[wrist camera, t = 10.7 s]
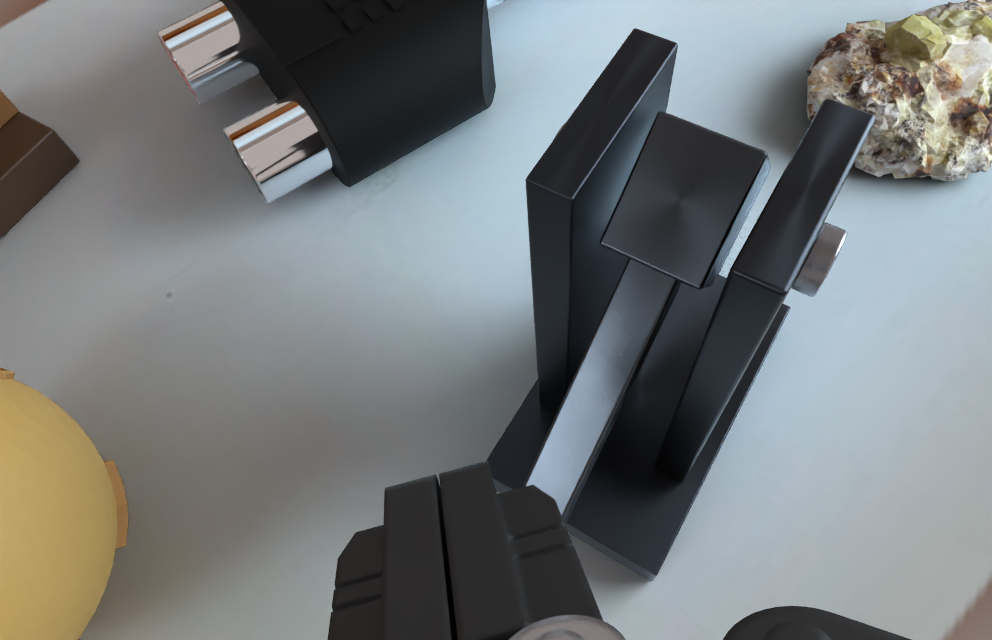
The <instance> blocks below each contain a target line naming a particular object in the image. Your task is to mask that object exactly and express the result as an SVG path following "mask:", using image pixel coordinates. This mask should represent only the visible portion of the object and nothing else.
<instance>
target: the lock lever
mask: <svg viewBox="0 0 992 640" xmlns="http://www.w3.org/2000/svg"><path fill="white" fill-rule="evenodd" d="M769 171H770V163H769V159H768V155H767V153H766V152H765V151H763V150H761V149H758V148H756V147H753V146H750V145H748V144H745V143H743V142H740V141H738V140H735V139H732V138H730V137H727V136H725V135H722V134H719V133H717V132H714V131H712V130H709V129H707V128H704V127H701V126H699V125H696V124H694V123H691V122H689V121H686V120H683V119H681V118H678V117H676V116H673V115H671V114H668V113H665V112H663V111H659V112H658V113H657V115H656V117H655V120H654V122H653V124H652V126H651V128H650V131H649V133H648V135H647V137H646V140H645V142H644V144H643V146H642V148H641V151H640V153H639V155H638V157H637V160H636V162H635V164H634V166H633V168H632V171H631V173H630V175H629V177H628V180H627V182H626V184H625V186H624V188H623V191H622V193H621V195H620V197H619V200H618V202H617V204H616V206H615V208H614V211H613V213H612V215H611V217H610V220H609V222H608V224H607V226H606V228H605V231H604V233H603V235H602V237H601V240H600V245H601V246H603V247H605V248H608V249H610V250H612V251H614V252H616V253H618V254H621V255H623V256H625V257H627V258H629V259H628V261H627V263H626V266H625V268H624V270H623V272H622V274H621V276H620V279H619V281H618V283H617V285H616V287H615V289H614V292H613V294H612V296H611V298H610V300H609V302H608V305H607V307H606V309H605V311H604V313H603V315H602V318H601V320H600V322H599V324H598V326H597V328H596V331H595V333H594V335H593V337H592V339H591V341H590V344H589V346H588V348H587V350H586V352H585V354H584V357H583V359H582V361H581V363H580V365H579V367H578V370H577V372H576V374H575V376H574V378H573V380H572V382H571V385H570V387H569V389H568V391H567V393H566V395H565V398H564V400H563V402H562V404H561V406H560V408H559V411H558V413H557V415H556V417H555V419H554V421H553V424H552V426H551V428H550V430H549V432H548V434H547V437H546V439H545V441H544V443H543V445H542V447H541V450H540V452H539V454H538V456H537V458H536V460H535V463H534V465H533V467H532V469H531V471H530V473H529V476H528V478H527V480H526V482H525V484H524V486H523V487H526V486H529V485H535V486H536V487H538V488H539V489H540V490H542V491H543V492H545V493H546V494H548V495H549V496H551V497H552V498H554V499H555V501H556V503H557V506H558V508H559V511H560V513H561V516H562V518H563V521H564V524H566V522H567V520H568V518H569V516H570V514H571V512H572V510H573V508H574V506H575V503H576V501H577V499H578V497H579V495H580V493H581V491H582V489H583V487H584V485H585V483H586V481H587V479H588V477H589V475H590V472H591V470H592V468H593V466H594V464H595V462H596V460H597V458H598V456H599V454H600V452H601V450H602V448H603V446H604V443H605V441H606V439H607V437H608V435H609V433H610V431H611V429H612V427H613V425H614V423H615V421H616V419H617V417H618V414H619V412H620V410H621V408H622V406H623V404H624V402H625V400H626V398H627V396H628V394H629V392H630V390H631V388H632V386H633V383H634V381H635V379H636V377H637V375H638V373H639V371H640V369H641V367H642V365H643V363H644V361H645V359H646V357H647V354H648V352H649V350H650V348H651V346H652V344H653V342H654V340H655V338H656V336H657V334H658V332H659V330H660V328H661V326H662V323H663V321H664V319H665V317H666V315H667V313H668V311H669V309H670V307H671V305H672V303H673V301H674V299H675V297H676V294H677V292H678V290H679V288H680V286H681V284H682V283H684V284H686V285H688V286H690V287H693V288H695V289H697V290H701V289H704V288H707V287H709V286H712V285H713V284H714V282H715V280H716V278H717V276H718V274H719V272H720V270H721V268H722V266H723V264H724V262H725V260H726V258H727V256H728V254H729V252H730V250H731V248H732V246H733V244H734V242H735V240H736V238H737V236H738V234H739V232H740V230H741V228H742V226H743V224H744V222H745V220H746V218H747V215H748V213H749V211H750V209H751V207H752V205H753V203H754V201H755V199H756V197H757V195H758V193H759V191H760V189H761V187H762V185H763V183H764V181H765V179H766V177H767V175H768V173H769Z"/></svg>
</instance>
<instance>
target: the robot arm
mask: <svg viewBox="0 0 992 640" xmlns="http://www.w3.org/2000/svg"><path fill="white" fill-rule="evenodd" d="M439 479H440V485H439V482H438V479H437V477H436V475H432V476H428V477H424V478H421V479H417V480H413V481H409V482H406V483H402V484H398V485H395V486H391V487H387V488H385V495H384V525H381V526H378V527H374V528H370V529H367V530H363V531H359V532H356V533H355V534H354V536H353V537H352V539H351V540H350V542H349V543H348V544H347V546H346V547H345V549H344V550H343V552H342V553H341V555H340V556H339V558H338V562H337V570H336V578H335V589H336V590H334V594H333V602H332V609H333V612H331V618H330V626H329V634H328V640H625V638H624V637H623V635H622V634H621V633H620V632H619V631H618V630H617V629H616V628H614V627H613V626H611V625H610V624H608V623H606V622H604V621H603V619H602V617H601V614H600V611H599V609H598V606H597V604H596V601H595V599H594V596H593V594H592V591H591V589H590V586H589V584H588V581H587V579H586V576H585V574H584V571H583V569H582V566H581V564H580V561H579V559H578V556H577V554H576V551H575V549H574V546H573V545H572V541H571V538H570V536H569V533H568V531H567V528H566V526H565V524H564V521H563V518H562V516H561V513H560V511H559V508H558V506H557V503H556V501H555V499H554V498H552V497H551V496H549V495H548V494H546V493H545V492H543V491H542V490H540V489H539V488H538V487H536V486H535V485H529V486H526V487H522V488H518V489H515V490H511V491H507V492H503V493H500V494H497V493H496V489H495V485H494V481H493V477H492V473H491V470H490V466H489V462H488V461H484V462H481V463H477V464H473V465H469V466H466V467H462V468H458V469H455V470H451V471H447V472H443V473H440V474H439ZM723 640H911V639H908V638H905V637H902V636H899V635H896V634H893V633H890V632H887V631H884V630H881V629H878V628H875V627H872V626H869V625H866V624H864V623H861V622H858V621H855V620H852V619H849V618H846V617H843V616H840V615H837V614H834V613H831V612H827V611H824V610H820V609H816V608H810V607H801V606H784V607H775V608H770V609H765V610H762V611H759V612H756V613H753V614H751V615H749V616H747V617H745V618H743V619H742V620H741V621H739V622H738V623H736V624H735V625H734V626H733V627H732V628H731V629H730V630H729V631H728V632H727V634H726V636H725V637H724V639H723Z"/></svg>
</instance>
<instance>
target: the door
mask: <svg viewBox="0 0 992 640" xmlns="http://www.w3.org/2000/svg"><path fill="white" fill-rule="evenodd" d="M78 163H79V159H78V158H77V156H76V155H75V154H74V153H73V152H72V151H71V149H70V148H69V147H68V146H67V145H66V144H65V143H64V141H63V140H62V139H61V138H60V137H59V136H58V135H57V133H56V132H55V131H54V130H53V129H51V128H49V127H47V126H45V125H44V124H42V123H40V122H38V121H36V120H34V119H32V118H31V117H29V116H27V115H25V114H23V113H21V112H19V110H18V109H17V108H16V107H15V105H14V104H13V103H12V102H11V101H10V100H9V99H8V98H7V97H6V95H5V94H4V93H3V92H2V91H1V90H0V238H1V237H2V236H3V235H4V234H5V233H7V232H8V231H9V230H10V229H11V228H12V227H13V226H14V225H15V224H16V223H17V222H18V221H19V220H20V219H21V218H22V217H23V216H24V215H25V214H26V213H27V212H28V211H29V210H30V209H31V208H32V207H33V206H34V205H35V204H36V203H37V202H38V201H39V200H41V199H42V198H43V197H44V196H45V195H46V194H47V193H48V192H49V191H50V190H51V189H52V188H53V187H54V186H55V185H56V184H57V183H58V182H59V181H60V180H61V179H62V178H63V177H64V176H65V175H66V174H67V173H68V172H69V171H70V170H71V169H72V168H73V167H75V166H76V165H77V164H78Z"/></svg>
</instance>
